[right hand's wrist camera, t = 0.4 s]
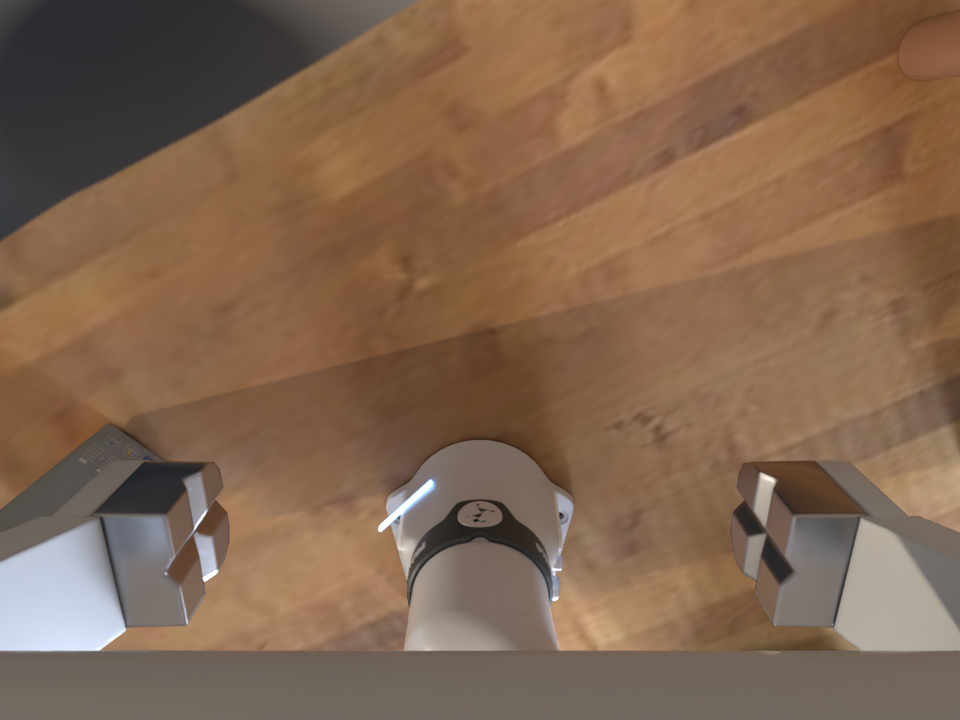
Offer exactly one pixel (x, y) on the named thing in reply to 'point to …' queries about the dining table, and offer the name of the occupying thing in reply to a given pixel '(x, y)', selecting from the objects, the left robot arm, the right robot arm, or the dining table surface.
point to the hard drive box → (72, 476)
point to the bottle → (932, 48)
